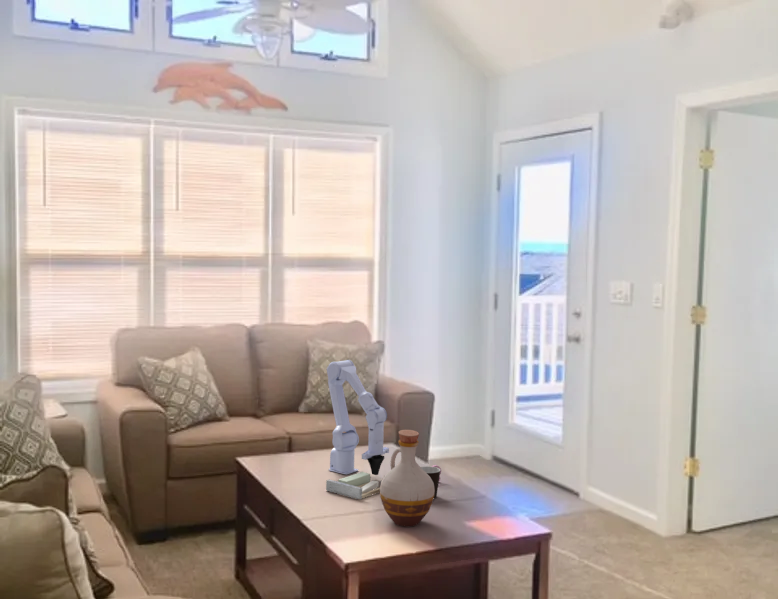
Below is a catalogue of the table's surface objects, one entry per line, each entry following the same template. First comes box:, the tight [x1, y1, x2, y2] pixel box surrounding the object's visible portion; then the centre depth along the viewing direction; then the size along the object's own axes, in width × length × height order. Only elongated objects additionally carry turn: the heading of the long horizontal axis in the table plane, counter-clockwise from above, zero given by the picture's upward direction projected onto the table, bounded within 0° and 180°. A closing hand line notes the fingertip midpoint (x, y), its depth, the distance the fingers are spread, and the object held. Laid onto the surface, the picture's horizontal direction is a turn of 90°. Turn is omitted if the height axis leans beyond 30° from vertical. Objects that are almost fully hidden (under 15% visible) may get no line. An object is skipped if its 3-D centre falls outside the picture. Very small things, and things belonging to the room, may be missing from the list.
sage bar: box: [337, 471, 371, 486], centre depth 302 cm, size 4×14×4 cm, turn 143°
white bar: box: [361, 480, 380, 494], centre depth 296 cm, size 2×14×2 cm, turn 156°
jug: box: [379, 429, 435, 528], centre depth 264 cm, size 20×18×30 cm
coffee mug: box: [420, 465, 441, 499], centre depth 292 cm, size 12×9×10 cm
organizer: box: [325, 479, 380, 500], centre depth 297 cm, size 16×16×4 cm
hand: (375, 474), depth 311 cm, fingers closed
